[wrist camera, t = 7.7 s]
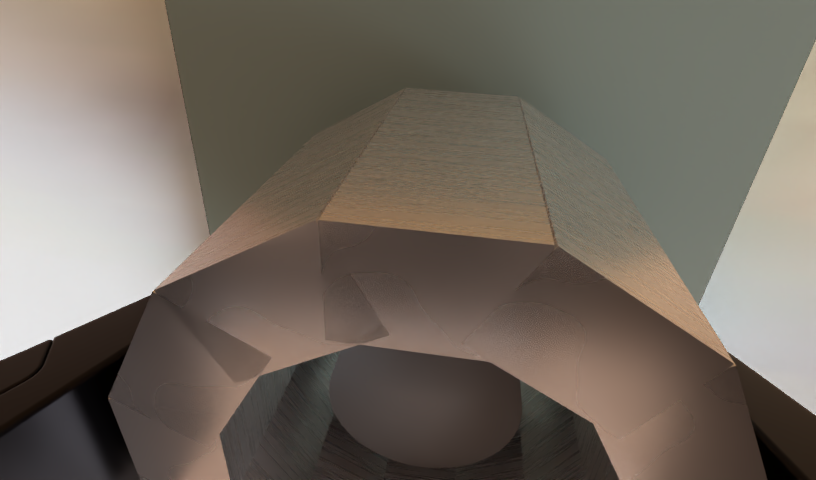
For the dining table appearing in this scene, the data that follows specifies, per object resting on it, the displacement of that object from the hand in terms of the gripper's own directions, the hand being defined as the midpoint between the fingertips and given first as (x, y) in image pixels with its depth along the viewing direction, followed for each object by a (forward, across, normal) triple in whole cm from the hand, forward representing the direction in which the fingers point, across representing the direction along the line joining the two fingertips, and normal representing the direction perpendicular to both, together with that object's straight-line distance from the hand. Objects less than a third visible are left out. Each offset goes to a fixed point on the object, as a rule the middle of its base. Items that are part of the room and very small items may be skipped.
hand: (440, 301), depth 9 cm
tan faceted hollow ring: (+1, 0, 0) cm, 1 cm away
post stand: (+4, 0, 0) cm, 4 cm away
